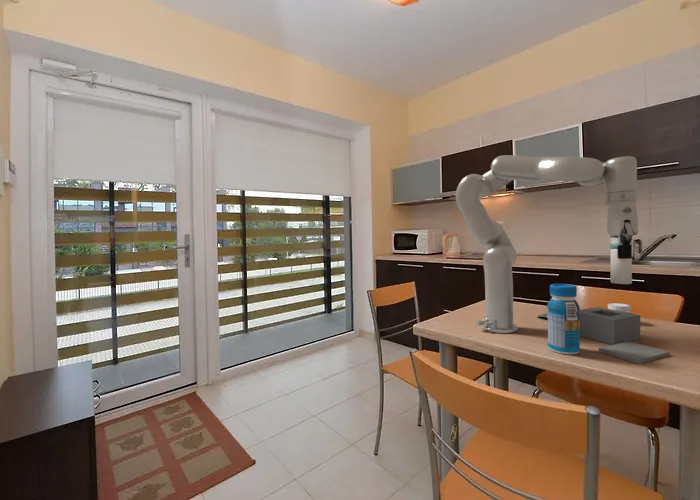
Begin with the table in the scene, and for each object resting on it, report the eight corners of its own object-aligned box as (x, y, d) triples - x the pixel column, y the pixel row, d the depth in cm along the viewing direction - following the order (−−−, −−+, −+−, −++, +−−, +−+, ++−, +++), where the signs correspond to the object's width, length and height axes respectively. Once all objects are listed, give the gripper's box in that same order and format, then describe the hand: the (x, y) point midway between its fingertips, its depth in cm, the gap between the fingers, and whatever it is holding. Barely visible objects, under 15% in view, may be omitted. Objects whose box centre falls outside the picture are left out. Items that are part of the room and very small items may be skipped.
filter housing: (613, 345, 100) (614, 319, 99) (572, 333, 112) (572, 311, 112) (640, 339, 104) (640, 314, 104) (597, 328, 116) (597, 306, 116)
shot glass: (628, 321, 124) (628, 303, 123) (632, 326, 118) (632, 307, 118) (606, 319, 127) (606, 302, 127) (608, 323, 122) (608, 305, 121)
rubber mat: (638, 363, 86) (638, 360, 86) (598, 351, 95) (598, 348, 95) (669, 355, 90) (669, 351, 90) (628, 344, 100) (628, 341, 100)
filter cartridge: (625, 284, 95) (625, 237, 95) (606, 282, 100) (606, 238, 99) (635, 283, 97) (635, 237, 96) (616, 281, 102) (616, 237, 101)
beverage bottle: (544, 351, 97) (544, 286, 96) (549, 343, 103) (549, 282, 102) (579, 357, 91) (578, 288, 90) (581, 348, 98) (581, 284, 97)
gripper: (649, 194, 88) (649, 260, 89) (624, 200, 104) (625, 255, 104) (615, 197, 91) (615, 260, 92) (596, 202, 107) (597, 256, 107)
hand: (620, 257), depth 98 cm, fingers closed on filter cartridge, 5 cm apart
